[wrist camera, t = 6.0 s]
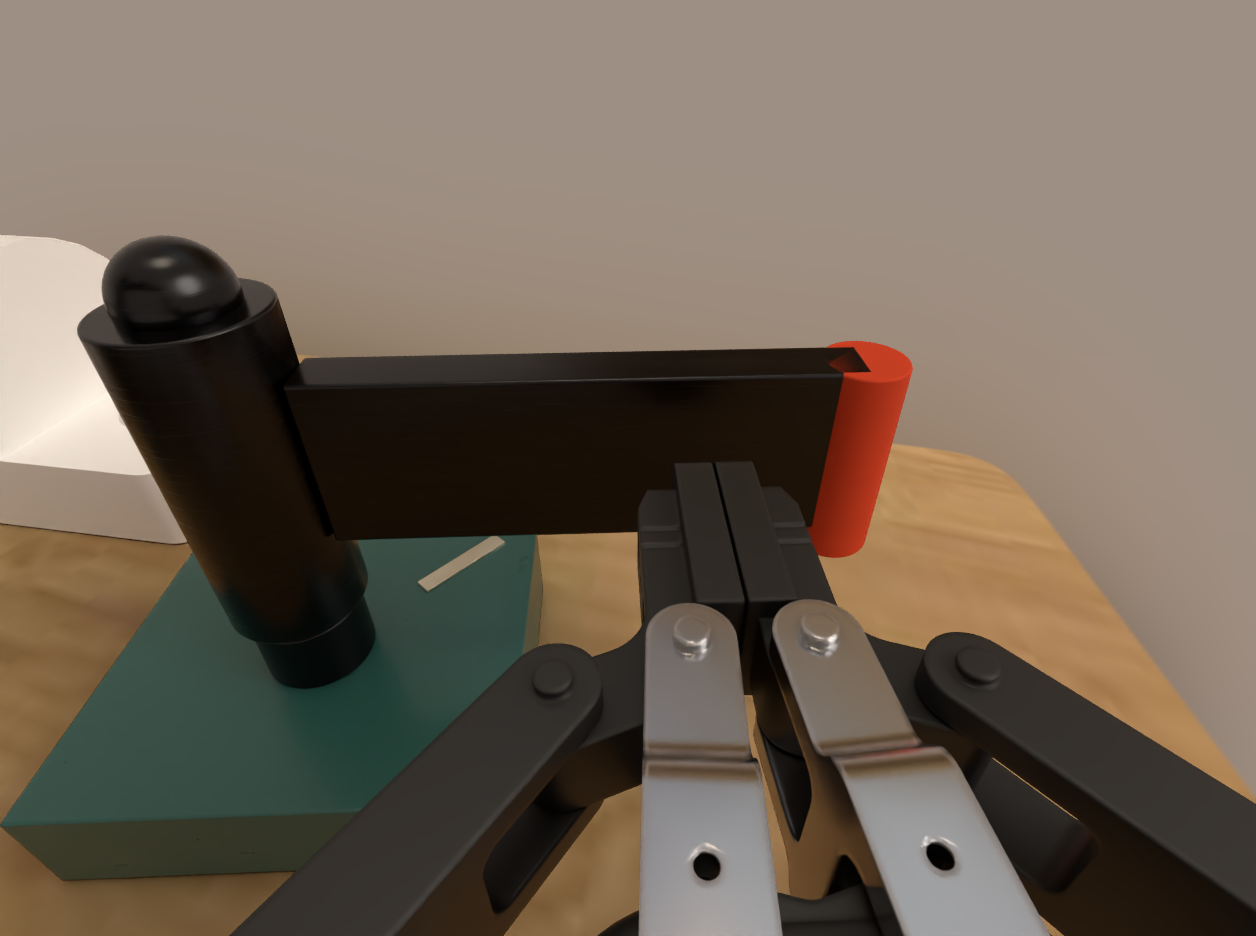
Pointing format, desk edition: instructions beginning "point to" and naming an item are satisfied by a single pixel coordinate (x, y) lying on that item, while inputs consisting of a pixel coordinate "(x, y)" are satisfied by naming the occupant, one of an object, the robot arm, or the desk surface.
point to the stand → (274, 716)
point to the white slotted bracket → (64, 405)
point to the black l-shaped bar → (446, 435)
